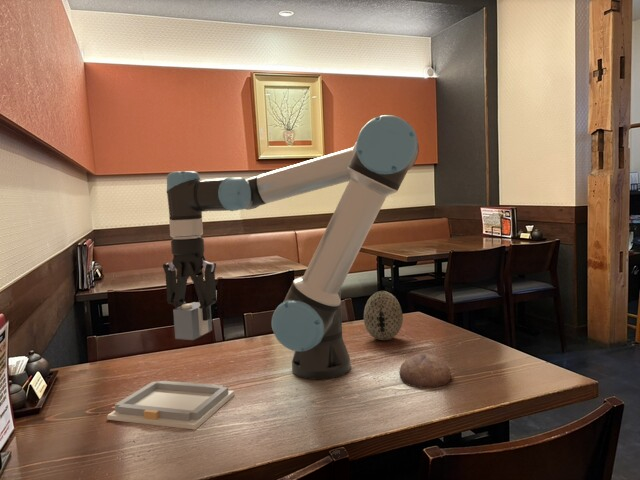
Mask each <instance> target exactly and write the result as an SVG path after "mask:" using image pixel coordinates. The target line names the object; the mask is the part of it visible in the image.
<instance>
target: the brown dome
mask: <svg viewBox="0 0 640 480" xmlns="http://www.w3.org/2000/svg"><path fill="white" fill-rule="evenodd" d="M451 377H452V374H451V369H450V368H449V366H448V365H447V363H445V362H444V361H443V360H442V359H440V358H439V357H437V356H435V355H433V354H424V353H418V354H414V355H412V356H410V357H408V358H406V359H405V360H404V361H403V363H402V364H401V366H400V368H399V378H400V379H401V380H402V382H403V383H405V384H406V385H409V386H411V387H416V388H426V389H429V388H436V387H442V386H445V385H447V384H448V383H449V382H450V380H451Z"/></svg>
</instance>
